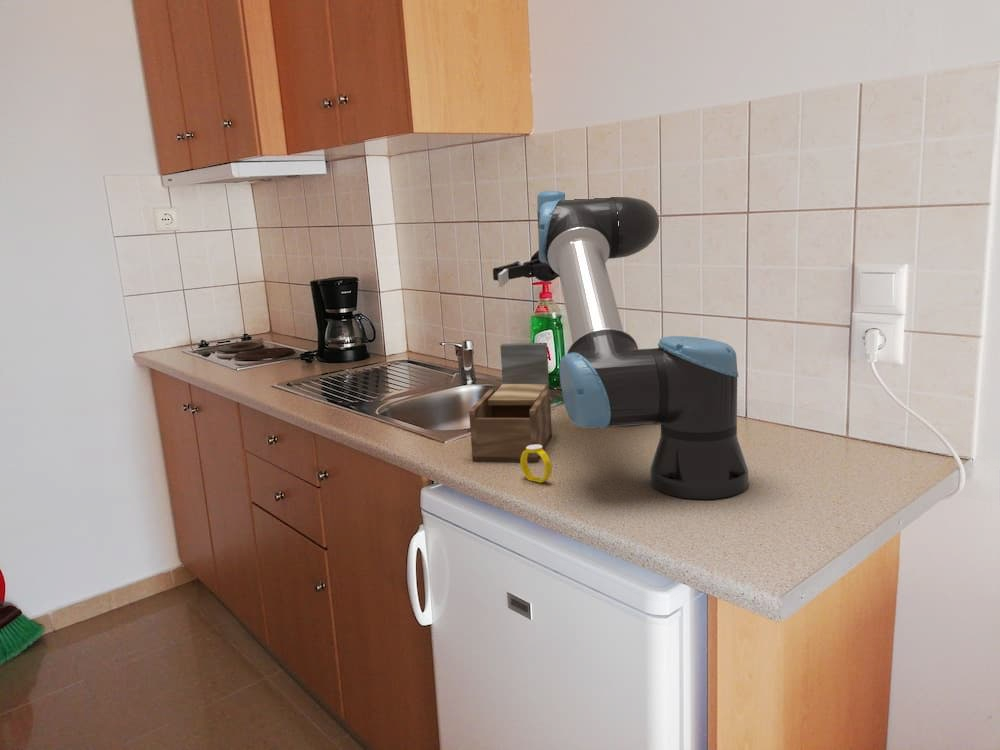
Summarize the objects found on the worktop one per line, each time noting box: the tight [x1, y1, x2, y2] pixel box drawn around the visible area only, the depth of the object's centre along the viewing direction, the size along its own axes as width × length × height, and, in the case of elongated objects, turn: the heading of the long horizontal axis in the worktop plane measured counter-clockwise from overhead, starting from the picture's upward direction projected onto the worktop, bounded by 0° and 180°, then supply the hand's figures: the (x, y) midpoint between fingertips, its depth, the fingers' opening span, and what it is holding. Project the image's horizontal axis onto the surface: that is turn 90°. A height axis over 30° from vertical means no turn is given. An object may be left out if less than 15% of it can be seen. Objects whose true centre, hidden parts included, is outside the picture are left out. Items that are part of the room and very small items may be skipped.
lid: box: [488, 342, 550, 405], centre depth 154 cm, size 15×9×9 cm, turn 167°
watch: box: [519, 444, 553, 484], centre depth 131 cm, size 6×3×6 cm, turn 44°
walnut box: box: [468, 388, 553, 464], centre depth 148 cm, size 16×12×10 cm
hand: (532, 280), depth 164 cm, fingers open, 13 cm apart
